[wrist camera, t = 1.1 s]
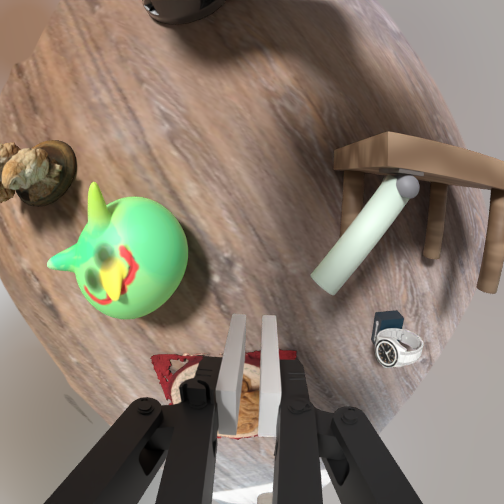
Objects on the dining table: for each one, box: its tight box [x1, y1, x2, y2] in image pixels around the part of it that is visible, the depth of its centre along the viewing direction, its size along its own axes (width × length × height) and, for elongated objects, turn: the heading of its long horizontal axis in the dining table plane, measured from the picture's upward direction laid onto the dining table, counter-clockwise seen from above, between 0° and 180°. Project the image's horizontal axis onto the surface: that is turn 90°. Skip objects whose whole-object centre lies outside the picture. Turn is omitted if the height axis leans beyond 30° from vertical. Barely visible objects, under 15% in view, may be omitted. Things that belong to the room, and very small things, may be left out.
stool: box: [333, 131, 504, 294], centre depth 32 cm, size 15×20×20 cm
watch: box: [371, 310, 423, 368], centre depth 42 cm, size 6×8×11 cm
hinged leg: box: [310, 175, 419, 295], centre depth 26 cm, size 13×3×4 cm, turn 143°
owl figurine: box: [0, 140, 76, 206], centre depth 34 cm, size 18×12×17 cm, turn 102°
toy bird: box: [47, 182, 188, 319], centre depth 38 cm, size 18×17×15 cm
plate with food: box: [150, 349, 296, 440], centre depth 51 cm, size 25×26×4 cm
